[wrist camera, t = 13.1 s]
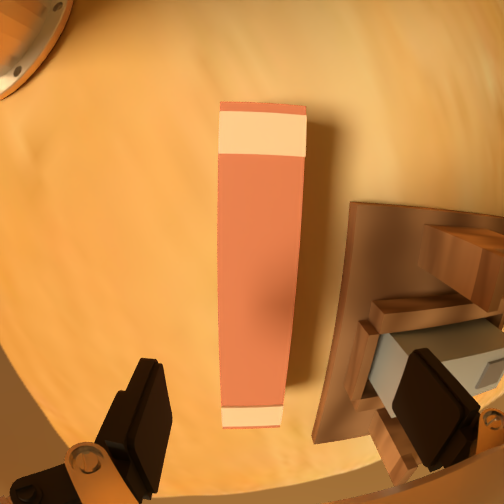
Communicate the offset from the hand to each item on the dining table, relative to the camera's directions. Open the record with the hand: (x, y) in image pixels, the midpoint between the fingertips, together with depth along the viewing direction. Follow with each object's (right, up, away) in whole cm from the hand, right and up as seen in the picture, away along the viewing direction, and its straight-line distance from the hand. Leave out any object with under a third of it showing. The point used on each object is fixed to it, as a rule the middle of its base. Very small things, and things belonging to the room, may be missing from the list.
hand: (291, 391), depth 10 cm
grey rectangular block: (+14, -3, +11) cm, 18 cm away
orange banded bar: (-1, +4, +10) cm, 11 cm away
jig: (+14, -2, +12) cm, 19 cm away
